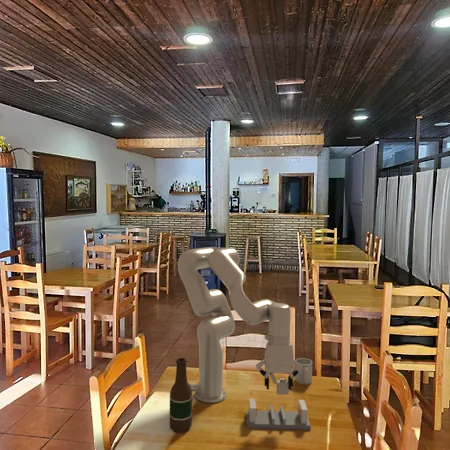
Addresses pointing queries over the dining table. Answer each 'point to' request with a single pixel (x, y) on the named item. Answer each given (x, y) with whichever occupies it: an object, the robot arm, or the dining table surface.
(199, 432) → the dining table surface
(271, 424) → the grey holder rack
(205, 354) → the robot arm
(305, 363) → the cup
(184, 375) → the beer bottle
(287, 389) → the lighter
